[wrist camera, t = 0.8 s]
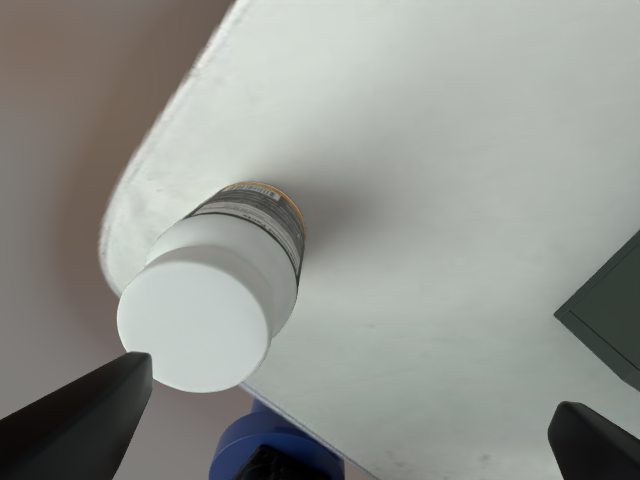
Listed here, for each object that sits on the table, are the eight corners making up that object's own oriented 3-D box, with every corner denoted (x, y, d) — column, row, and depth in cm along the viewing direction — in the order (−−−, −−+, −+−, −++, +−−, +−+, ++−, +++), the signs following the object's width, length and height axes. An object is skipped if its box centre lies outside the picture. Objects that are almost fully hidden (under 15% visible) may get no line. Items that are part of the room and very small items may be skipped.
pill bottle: (256, 294, 22) (201, 436, 13) (181, 225, 21) (58, 326, 11) (328, 233, 20) (327, 341, 11) (253, 155, 19) (181, 203, 10)
